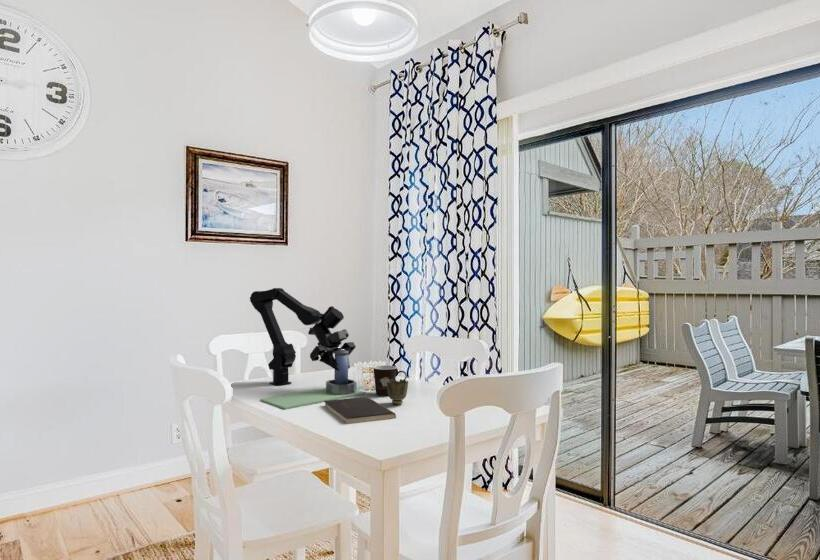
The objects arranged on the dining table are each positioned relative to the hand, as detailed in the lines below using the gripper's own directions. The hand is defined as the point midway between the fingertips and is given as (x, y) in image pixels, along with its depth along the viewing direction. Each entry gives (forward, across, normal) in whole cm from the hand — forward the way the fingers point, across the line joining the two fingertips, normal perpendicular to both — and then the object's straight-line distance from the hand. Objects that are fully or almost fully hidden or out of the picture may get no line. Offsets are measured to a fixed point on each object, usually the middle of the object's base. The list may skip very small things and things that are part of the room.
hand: (343, 369), depth 193 cm
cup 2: (+24, +2, -11) cm, 27 cm away
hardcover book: (+23, -14, -9) cm, 28 cm away
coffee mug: (+16, +10, -3) cm, 19 cm away
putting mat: (+4, -11, +9) cm, 14 cm away
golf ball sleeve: (+4, 0, +6) cm, 7 cm away
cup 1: (+5, 0, +7) cm, 9 cm away
